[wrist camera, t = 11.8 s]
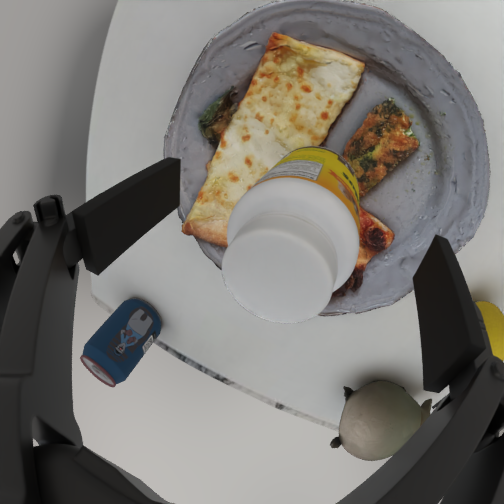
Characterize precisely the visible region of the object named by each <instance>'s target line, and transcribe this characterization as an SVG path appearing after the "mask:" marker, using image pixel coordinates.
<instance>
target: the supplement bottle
mask: <svg viewBox="0 0 504 504" xmlns="http://www.w3.org/2000/svg"><path fill="white" fill-rule="evenodd" d="M227 242H228V247H227V249H226V251H225V253H224V256H223V259H222V275H223V279H224V282H225V285H226V287H227V289H228V291H229V292H230V294H231V295H232V297H233V298H234V299H235V300H236V301H237V302H238V303H239V304H240V305H241V306H242V307H243V308H244V309H246V310H247V311H249V312H250V313H252V314H254V315H255V316H257V317H260V318H262V319H265V320H268V321H272V322H276V323H284V324H290V323H299V322H303V321H306V320H309V319H311V318H313V317H315V316H316V315H318V314H319V313H320V312H322V311H323V309H324V308H325V307H326V306H327V304H328V303H329V301H330V298H331V296H332V292H334V291H336V290H337V289H338V288H340V287H341V286H342V285H343V284H344V283H345V282H346V281H347V279H348V278H349V277H350V275H351V273H352V272H353V270H354V267H355V265H356V262H357V258H358V253H359V244H360V210H359V187H358V181H357V177H356V175H355V173H354V171H353V169H352V167H351V166H350V164H349V163H348V162H347V161H346V160H345V159H344V158H343V157H342V156H341V155H339V154H338V153H336V152H334V151H332V150H330V149H327V148H324V147H319V146H306V147H301V148H298V149H296V150H293V151H292V152H290V153H288V154H287V155H286V156H284V157H283V158H282V159H281V160H280V161H279V162H278V163H277V164H276V165H275V166H274V167H272V168H271V169H270V170H269V171H268V172H267V173H266V174H265V175H264V176H263V177H262V178H261V179H260V180H259V181H258V182H256V183H255V184H254V185H253V186H252V187H251V188H250V189H249V190H248V191H247V192H246V193H245V194H244V195H243V196H242V197H241V199H240V200H239V201H238V202H237V204H236V205H235V207H234V208H233V210H232V212H231V215H230V218H229V221H228V226H227Z"/></svg>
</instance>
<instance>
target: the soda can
mask: <svg viewBox="0 0 504 504" xmlns="http://www.w3.org/2000/svg"><path fill="white" fill-rule="evenodd" d="M160 331H161V318H160V316H159V314H158V313H157V311H156V310H155V309H154V308H153V307H152V306H151V305H150V304H148V303H147V302H145V301H144V300H141V299H138V298H135V299H130V300H126V301H124V302H123V303H122V304H121V305H120V306H119V307H118V308H117V309H116V310H115V312H114V313H113V314H112V315H111V316H110V317H109V318H108V319H107V320H106V321H105V323H104V324H103V325H102V326H101V327H100V328H99V329H98V330H97V331H96V333H95V334H94V335H93V336H92V337H91V338H90V339H89V341H88V342H87V343H86V344H85V346H84V350H83V355H82V356H81V357H80V359H81V361H82V363H83V364H84V366H85V367H86V368H87V369H88V370H89V371H90V372H91V373H92V374H93V375H94V376H95V377H96V378H97V379H99V380H100V381H101V382H103V383H104V384H106V385H108V386H110V387H115V385H116V384H118V383H120V382H123V381H125V380H126V378H127V377H128V376H129V374H130V373H131V372H132V370H133V369H134V368H135V366H136V365H137V364H138V362H139V361H140V359H141V358H142V357H143V355H144V354H145V352H146V351H147V350H148V349H149V347H150V346H151V345H152V343H153V342H154V341H155V339H156V338H157V337H158V335H159V334H160Z"/></svg>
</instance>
